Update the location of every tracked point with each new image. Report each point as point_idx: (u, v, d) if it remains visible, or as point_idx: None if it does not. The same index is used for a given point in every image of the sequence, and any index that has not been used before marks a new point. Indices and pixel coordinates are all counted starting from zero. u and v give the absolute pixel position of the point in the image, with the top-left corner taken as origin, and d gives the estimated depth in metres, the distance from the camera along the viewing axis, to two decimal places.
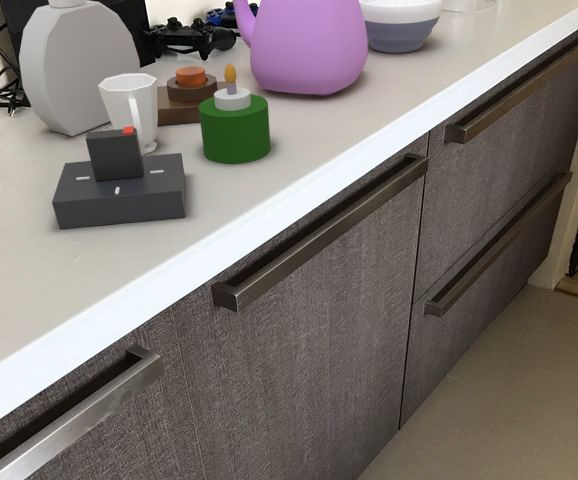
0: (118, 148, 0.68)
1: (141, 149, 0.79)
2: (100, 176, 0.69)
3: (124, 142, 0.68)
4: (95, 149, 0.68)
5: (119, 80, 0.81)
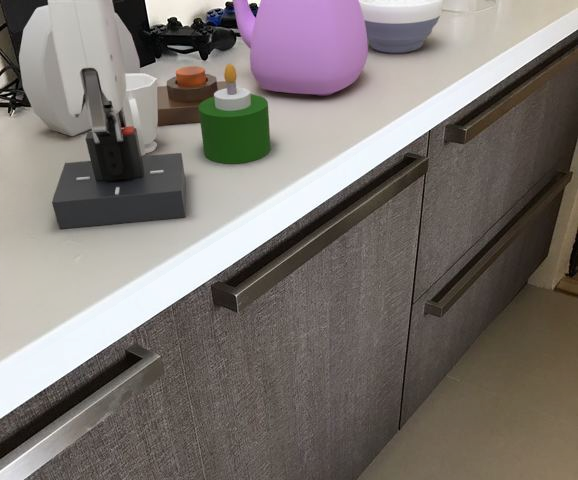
0: None
1: (141, 149, 0.79)
2: (100, 176, 0.69)
3: None
4: (95, 149, 0.68)
5: None
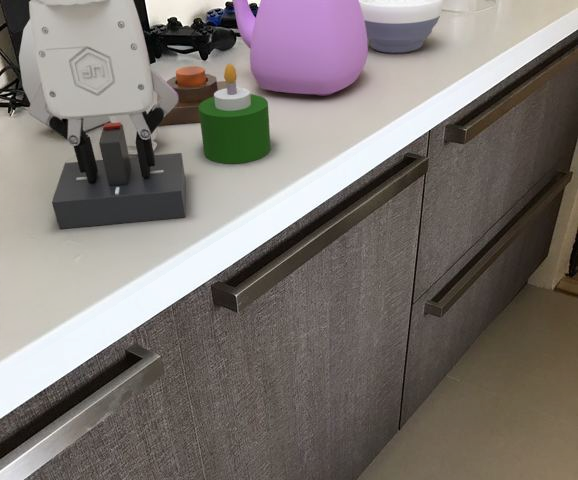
0: (123, 142, 0.69)
1: None
2: (127, 177, 0.69)
3: (123, 134, 0.69)
4: (122, 149, 0.67)
5: None
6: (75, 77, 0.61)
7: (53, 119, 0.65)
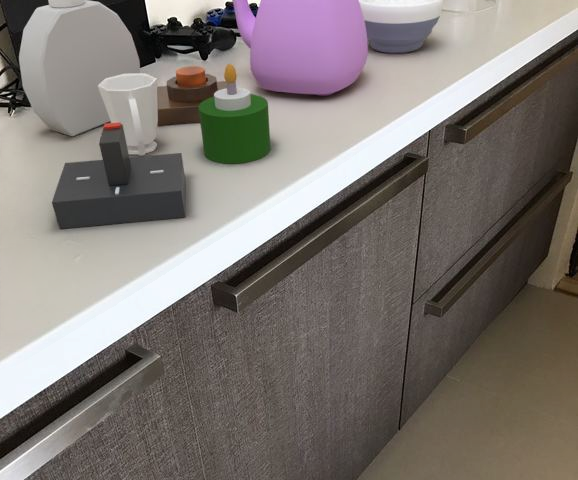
0: (123, 142, 0.69)
1: (141, 149, 0.79)
2: (127, 177, 0.69)
3: (123, 134, 0.69)
4: (122, 149, 0.67)
5: (119, 80, 0.81)
6: None
7: None
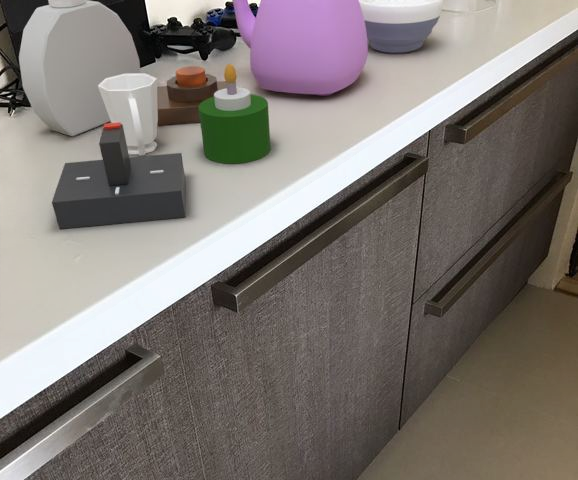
0: (123, 142, 0.69)
1: (141, 149, 0.79)
2: (127, 177, 0.69)
3: (123, 134, 0.69)
4: (122, 149, 0.67)
5: (119, 80, 0.81)
6: None
7: None
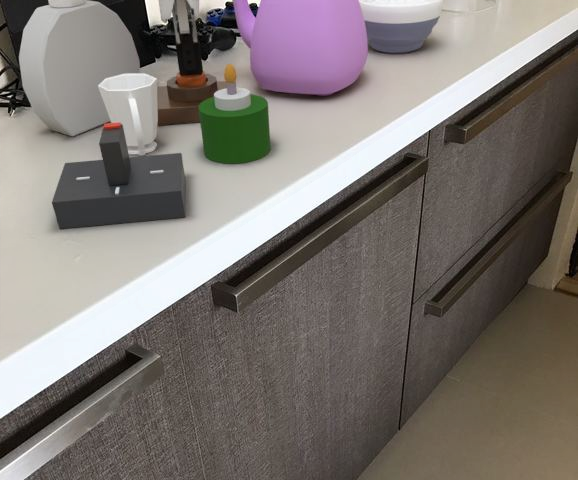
0: (123, 142, 0.69)
1: (141, 149, 0.79)
2: (127, 177, 0.69)
3: (123, 134, 0.69)
4: (122, 149, 0.67)
5: (119, 80, 0.81)
6: None
7: None
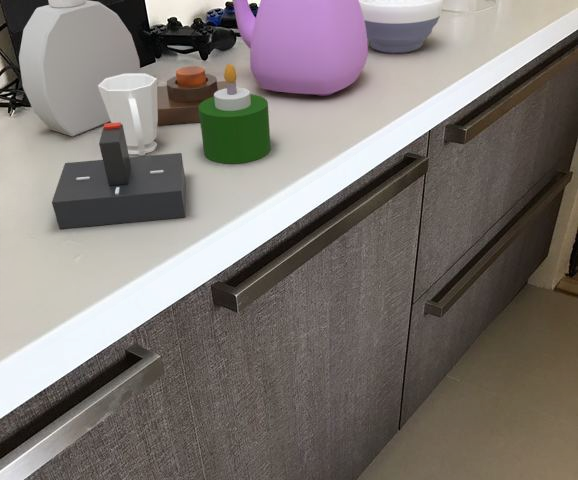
0: (123, 142, 0.69)
1: (141, 149, 0.79)
2: (127, 177, 0.69)
3: (123, 134, 0.69)
4: (122, 149, 0.67)
5: (119, 80, 0.81)
6: None
7: None
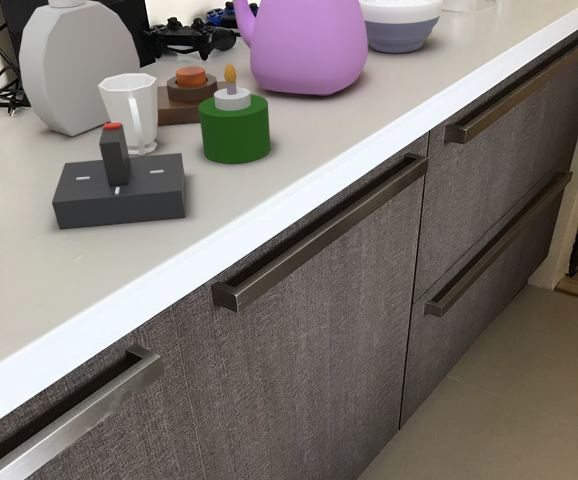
0: (123, 142, 0.69)
1: (141, 149, 0.79)
2: (127, 177, 0.69)
3: (123, 134, 0.69)
4: (122, 149, 0.67)
5: (119, 80, 0.81)
6: None
7: None
